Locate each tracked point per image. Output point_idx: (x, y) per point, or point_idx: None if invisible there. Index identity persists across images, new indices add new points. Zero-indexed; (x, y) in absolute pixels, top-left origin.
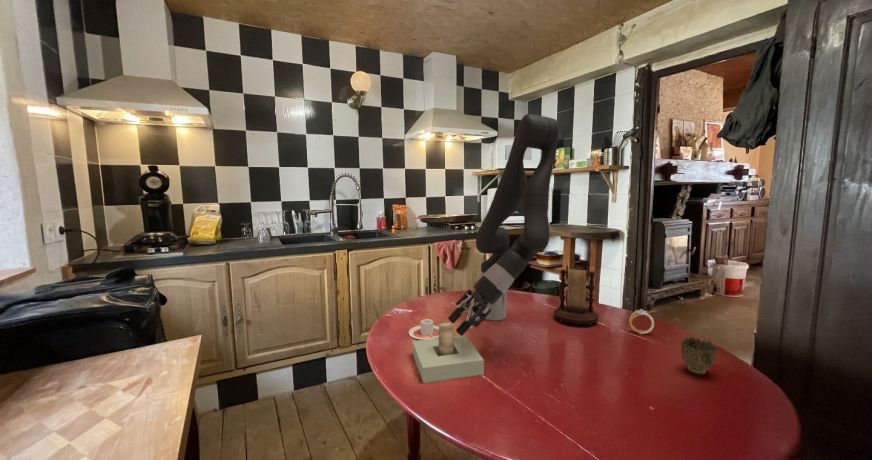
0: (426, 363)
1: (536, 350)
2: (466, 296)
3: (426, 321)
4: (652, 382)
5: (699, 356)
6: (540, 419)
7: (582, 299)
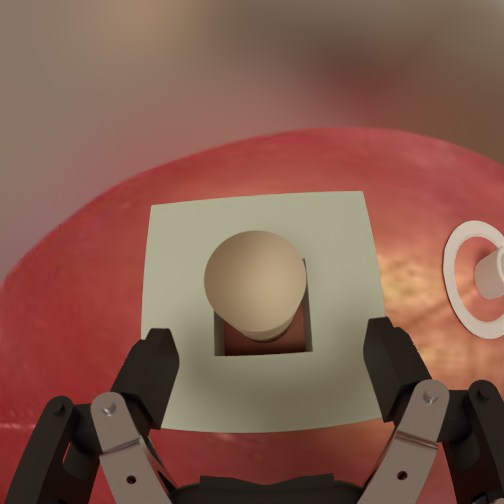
0: (173, 218)
1: None
2: (493, 492)
3: None
4: None
5: None
6: (13, 421)
7: None
